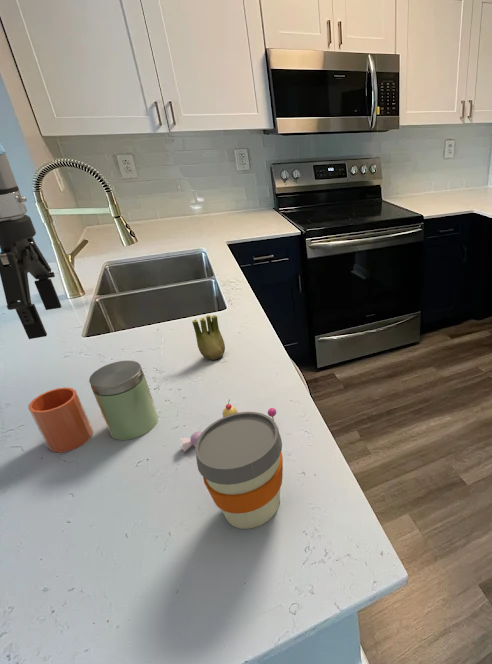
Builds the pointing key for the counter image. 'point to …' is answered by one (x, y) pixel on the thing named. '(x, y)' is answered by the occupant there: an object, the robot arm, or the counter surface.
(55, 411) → the cup
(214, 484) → the reusable coffee cup
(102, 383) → the jar lid
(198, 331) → the fennel bulb
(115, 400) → the jar
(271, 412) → the candy
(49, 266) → the robot arm
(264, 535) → the counter surface
